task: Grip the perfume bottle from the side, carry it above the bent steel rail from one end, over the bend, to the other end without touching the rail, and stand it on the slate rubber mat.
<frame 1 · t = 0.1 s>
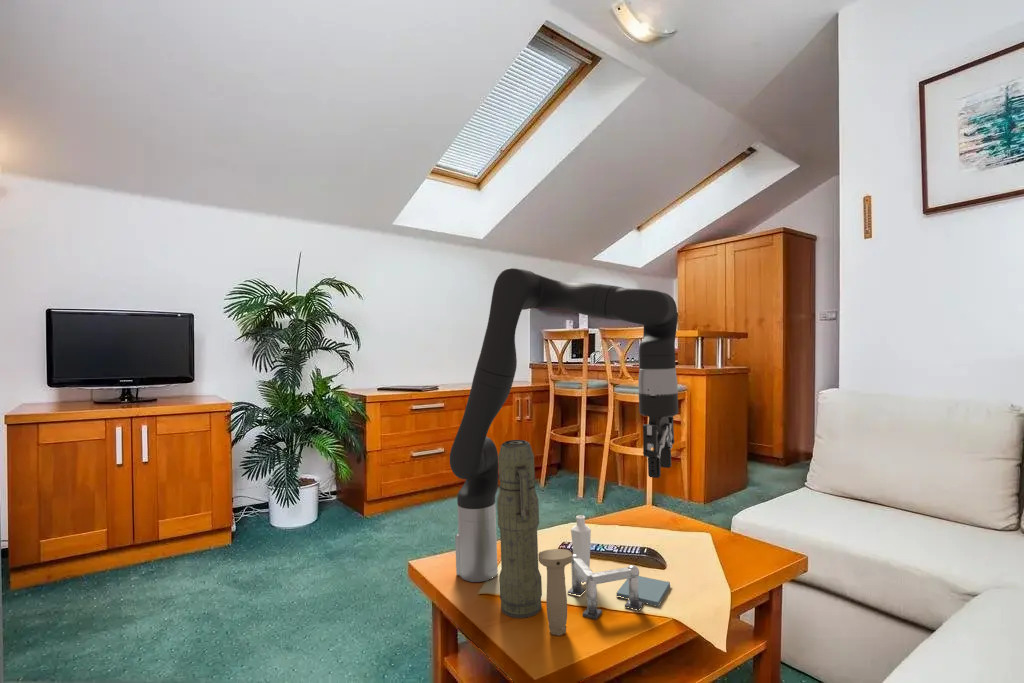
hand: (660, 472, 103), 29 cm above the table, tool pointing down, fingers open, 8 cm apart
slate mat: (643, 591, 115), on the table
thermos: (521, 607, 110), on the table
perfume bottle: (583, 581, 121), on the table
bent rail: (592, 614, 106), on the table
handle: (557, 633, 100), on the table
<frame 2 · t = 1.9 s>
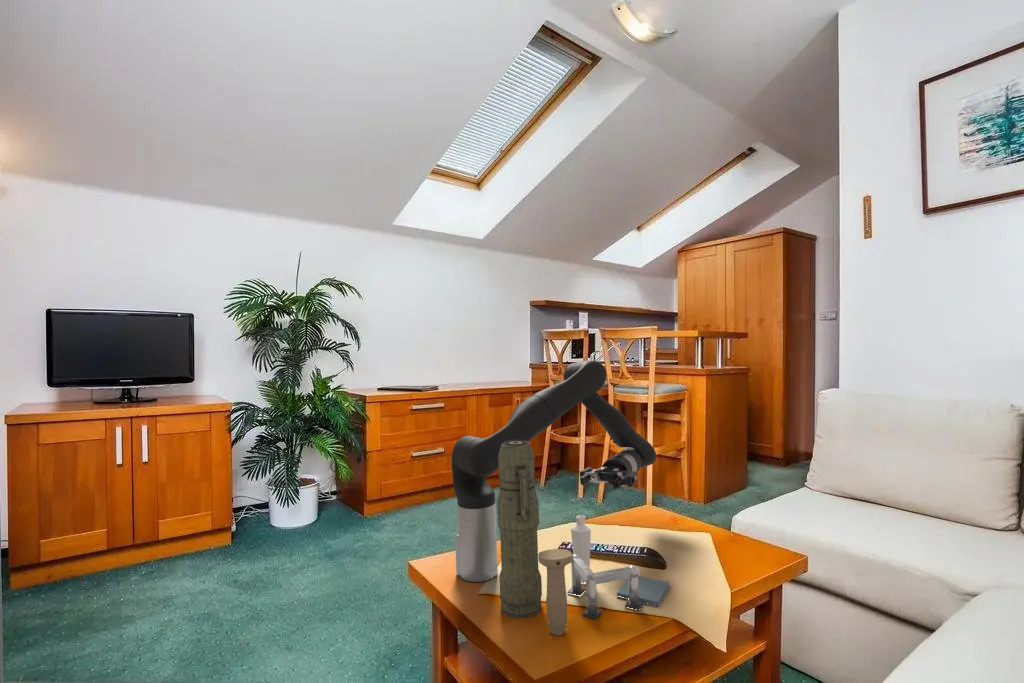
hand: (598, 483, 130), 20 cm above the table, tool horizontal, fingers open, 8 cm apart
nothing on the table moved.
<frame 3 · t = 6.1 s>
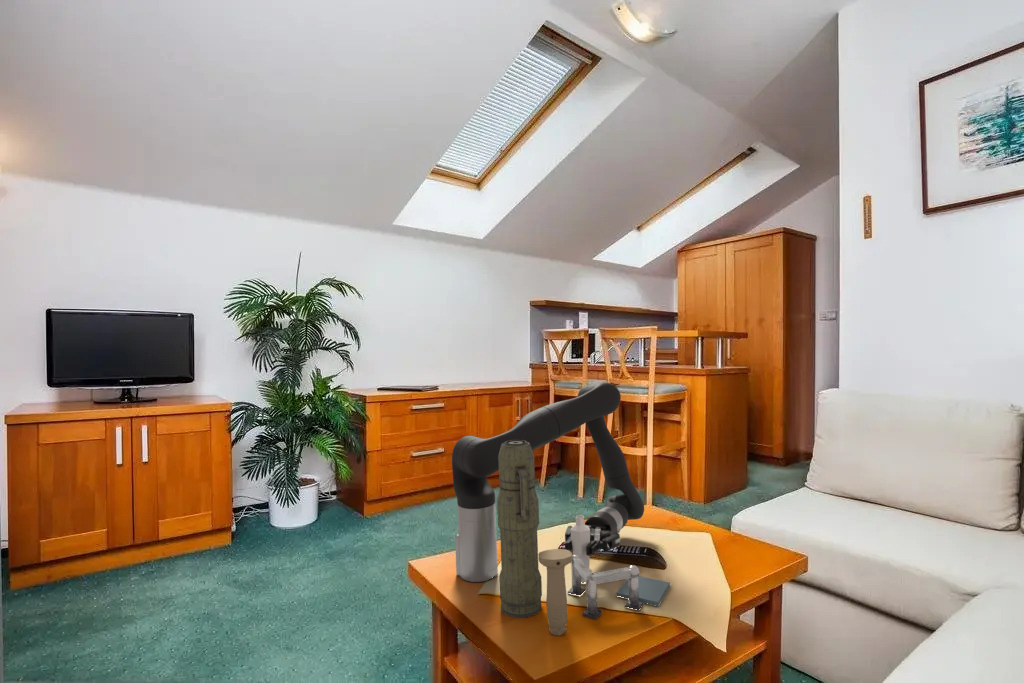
hand: (577, 549, 119), 8 cm above the table, tool horizontal, fingers closed on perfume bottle, 4 cm apart
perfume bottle: (583, 581, 121), on the table, touching gripper
everything else where it was.
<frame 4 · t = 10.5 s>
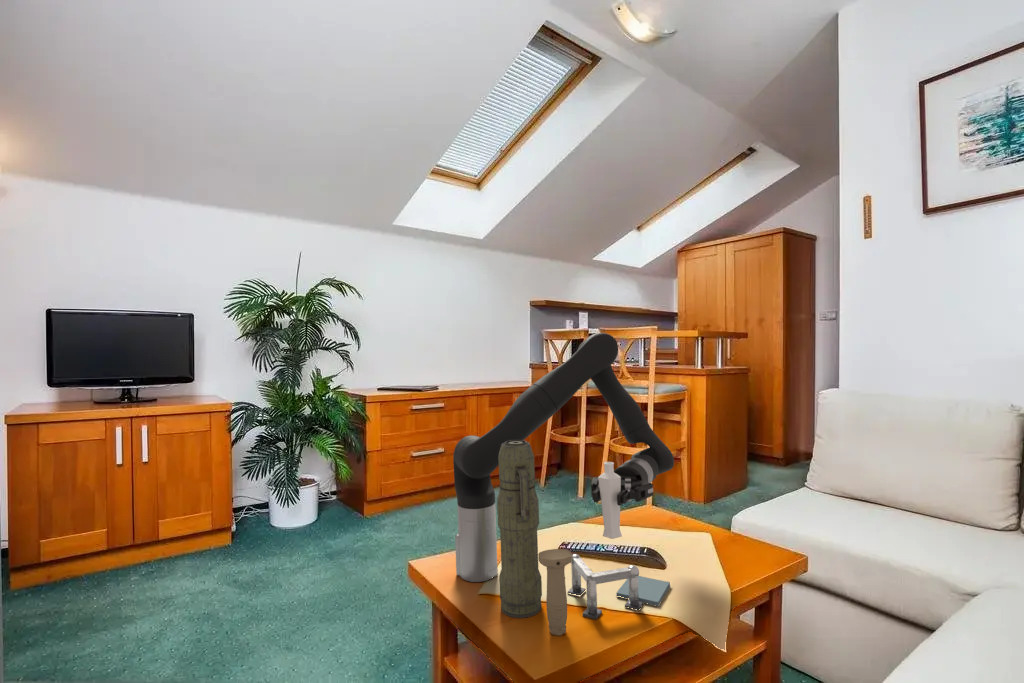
hand: (607, 498, 105), 24 cm above the table, tool horizontal, fingers closed on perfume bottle, 4 cm apart
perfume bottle: (612, 535, 107), point 15 cm above the table, touching gripper
everything else where it was.
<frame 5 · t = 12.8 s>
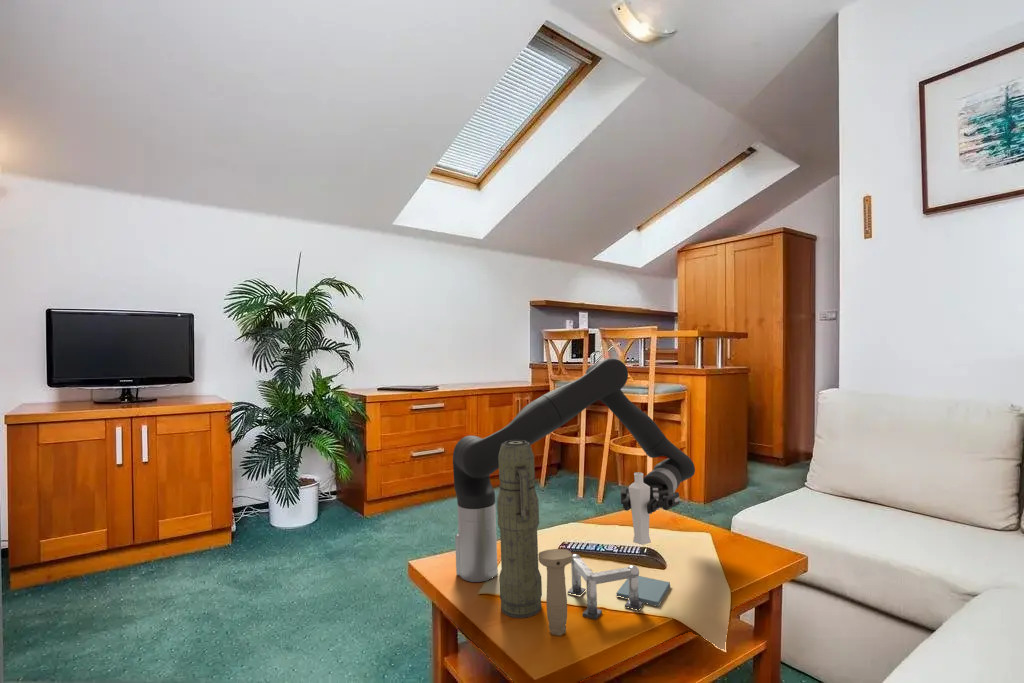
hand: (637, 507, 112), 19 cm above the table, tool horizontal, fingers closed on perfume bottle, 4 cm apart
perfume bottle: (642, 541, 115), point 11 cm above the table, touching gripper
everything else where it was.
when the fingers open (10 cm above the table, at t = 14.7 s): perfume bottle drops 1 cm, resting on slate mat.
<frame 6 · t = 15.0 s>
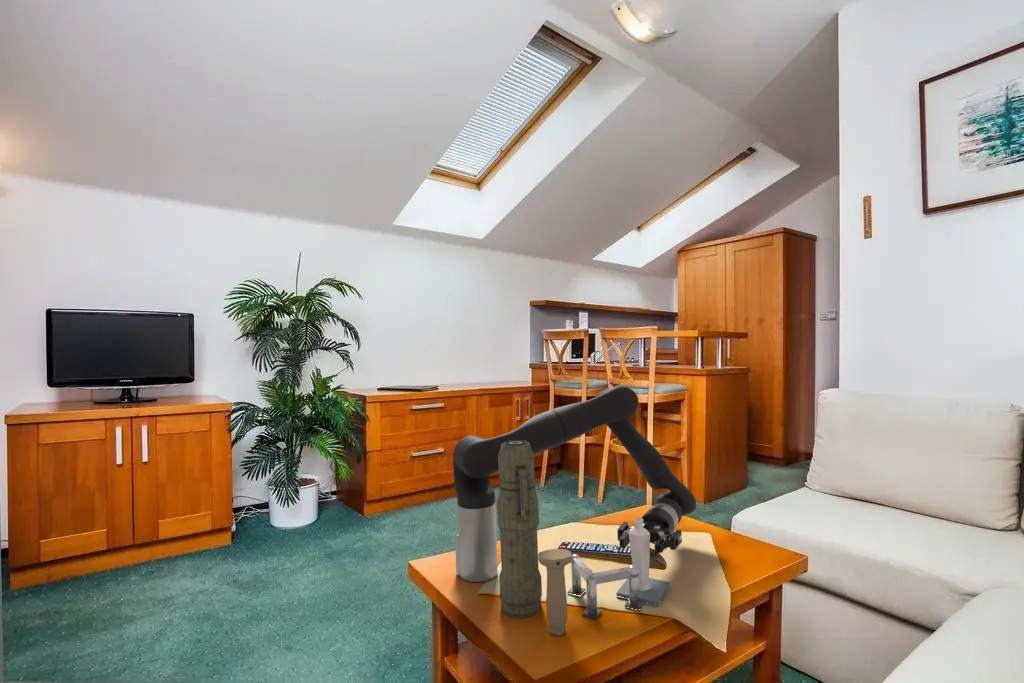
hand: (639, 546, 113), 11 cm above the table, tool horizontal, fingers open, 7 cm apart
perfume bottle: (642, 587, 115), point 1 cm above the table, touching slate mat
everything else where it was.
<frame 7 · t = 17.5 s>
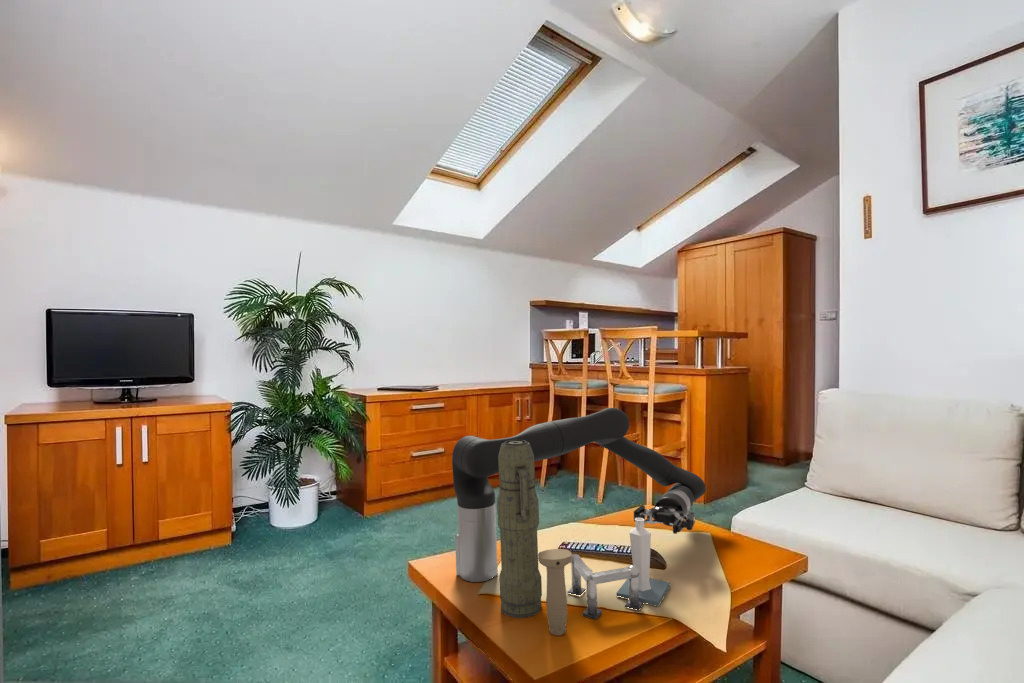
hand: (656, 526, 124), 11 cm above the table, tool horizontal, fingers open, 8 cm apart
nothing on the table moved.
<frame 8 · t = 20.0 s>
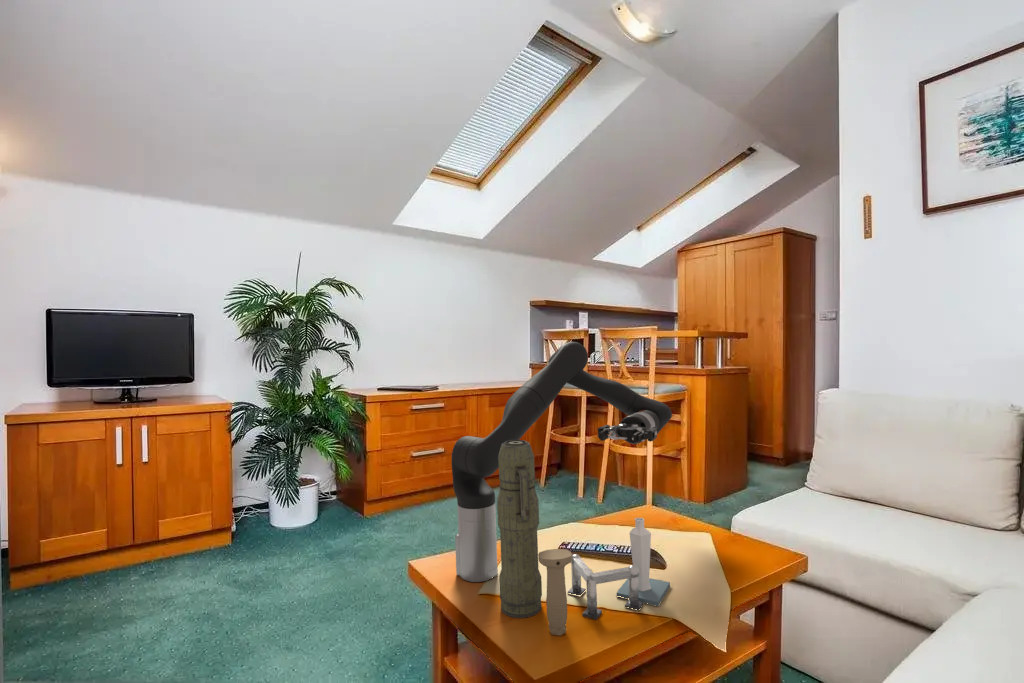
hand: (617, 437, 127), 32 cm above the table, tool horizontal, fingers open, 8 cm apart
nothing on the table moved.
at the end: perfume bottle inside the target area on the slate mat (0.4 cm from its centre), point 0.8 cm above the slate mat's base; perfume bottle tilted 0°; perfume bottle touching slate mat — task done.
